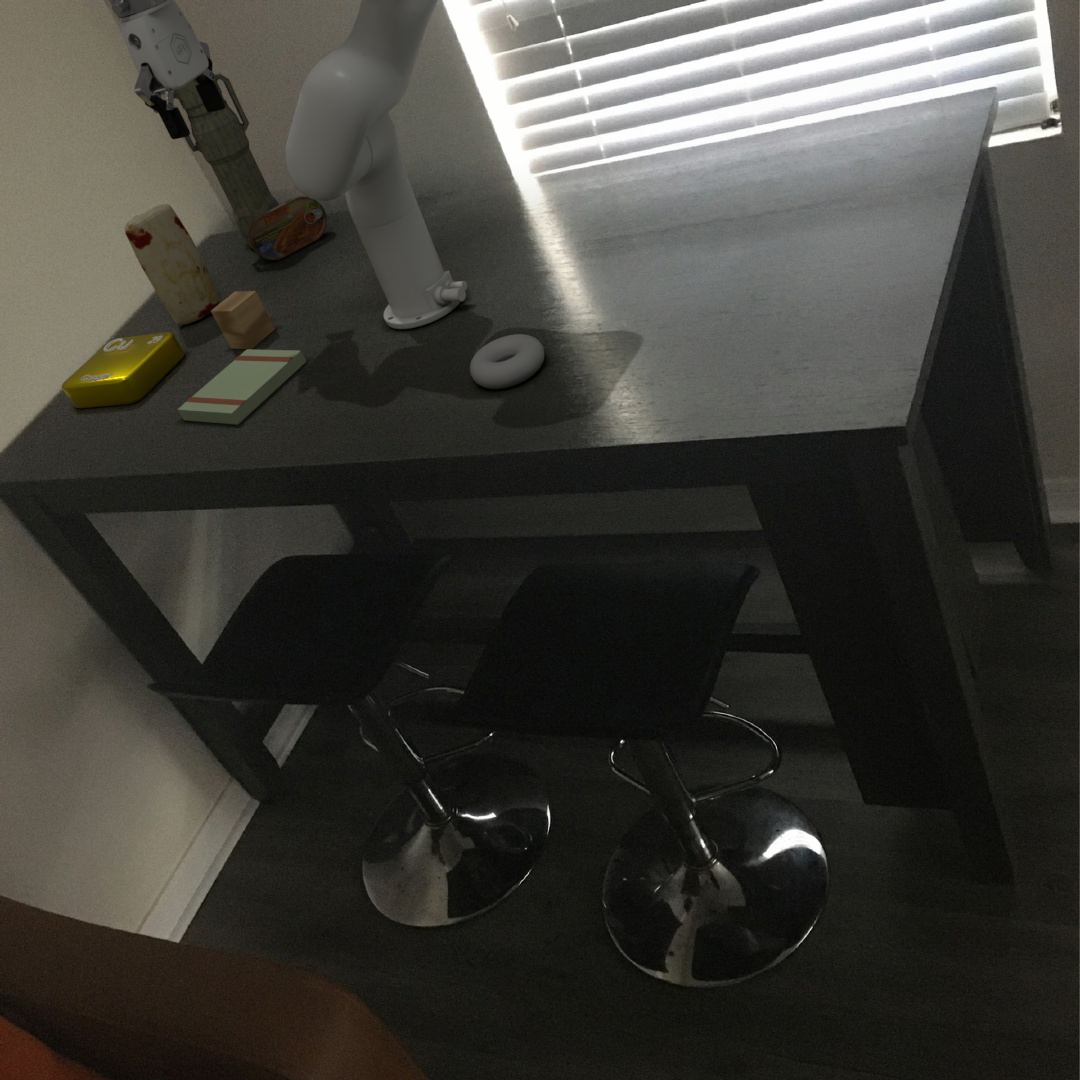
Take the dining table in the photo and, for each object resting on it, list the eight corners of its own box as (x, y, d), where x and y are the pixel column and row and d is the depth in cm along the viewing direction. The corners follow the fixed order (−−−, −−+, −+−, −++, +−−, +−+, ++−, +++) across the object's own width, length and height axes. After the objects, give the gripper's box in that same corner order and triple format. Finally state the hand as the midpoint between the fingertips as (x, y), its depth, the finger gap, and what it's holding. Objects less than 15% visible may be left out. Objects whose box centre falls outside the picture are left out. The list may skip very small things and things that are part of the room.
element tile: (70, 410, 175) (53, 385, 172) (124, 359, 185) (109, 335, 182) (138, 404, 169) (121, 378, 166) (190, 352, 179) (175, 327, 176)
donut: (463, 378, 143) (494, 403, 135) (454, 356, 141) (484, 379, 133) (527, 343, 145) (561, 366, 137) (519, 321, 143) (553, 342, 135)
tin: (264, 268, 199) (243, 226, 194) (259, 264, 202) (238, 222, 197) (334, 231, 203) (315, 189, 198) (329, 228, 205) (310, 186, 200)
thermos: (303, 228, 210) (218, 45, 189) (249, 256, 207) (157, 73, 186) (289, 219, 217) (205, 42, 196) (237, 246, 214) (146, 68, 193)
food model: (183, 334, 186) (122, 227, 174) (171, 325, 191) (111, 221, 179) (232, 306, 189) (175, 199, 177) (219, 299, 194) (162, 194, 182)
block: (275, 328, 175) (255, 290, 171) (251, 349, 172) (231, 310, 167) (254, 328, 178) (234, 291, 174) (231, 348, 174) (210, 311, 170)
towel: (306, 361, 162) (300, 349, 160) (238, 424, 152) (231, 412, 151) (252, 360, 168) (246, 348, 167) (183, 420, 159) (176, 409, 158)
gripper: (124, 16, 139) (187, 144, 150) (195, -26, 151) (249, 96, 161) (82, 27, 143) (147, 152, 153) (154, -14, 154) (210, 104, 165)
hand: (199, 123), depth 157 cm, fingers open, 9 cm apart
